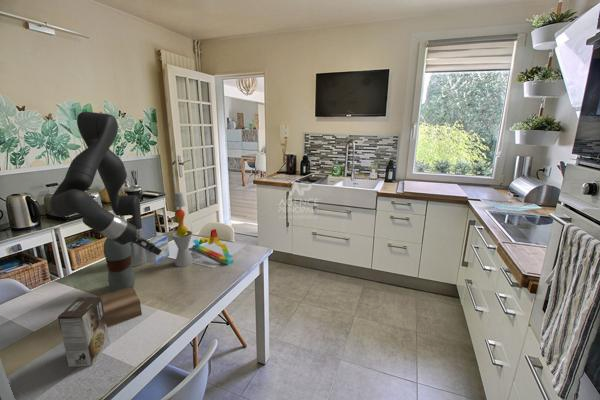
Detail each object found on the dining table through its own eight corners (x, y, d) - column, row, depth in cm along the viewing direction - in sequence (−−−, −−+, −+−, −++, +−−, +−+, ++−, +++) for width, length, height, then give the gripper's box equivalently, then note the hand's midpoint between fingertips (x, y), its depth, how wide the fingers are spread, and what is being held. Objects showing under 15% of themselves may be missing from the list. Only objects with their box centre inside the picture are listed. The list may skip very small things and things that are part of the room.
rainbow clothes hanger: (192, 248, 156) (190, 222, 152) (197, 247, 158) (195, 221, 155) (227, 265, 138) (226, 236, 134) (233, 263, 140) (231, 234, 137)
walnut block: (96, 312, 102) (93, 297, 101) (134, 300, 110) (132, 286, 108) (101, 330, 93) (98, 314, 92) (142, 315, 101) (139, 300, 99)
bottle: (141, 284, 120) (132, 216, 112) (119, 295, 112) (108, 222, 104) (126, 279, 124) (116, 212, 116) (104, 289, 115) (92, 219, 108)
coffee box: (88, 343, 87) (79, 296, 83) (110, 342, 88) (102, 295, 84) (67, 367, 79) (56, 316, 75) (92, 366, 79) (82, 315, 75)
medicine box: (156, 264, 108) (153, 243, 106) (146, 263, 109) (143, 242, 107) (169, 255, 116) (168, 235, 114) (160, 254, 117) (158, 234, 115)
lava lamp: (170, 263, 138) (163, 193, 130) (186, 256, 146) (181, 189, 137) (181, 268, 134) (175, 195, 125) (198, 261, 141) (193, 192, 132)
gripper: (134, 224, 95) (171, 246, 108) (116, 216, 104) (152, 237, 116) (118, 244, 93) (158, 264, 105) (101, 233, 101) (140, 253, 113)
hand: (155, 250), depth 110 cm, fingers closed on medicine box, 5 cm apart
